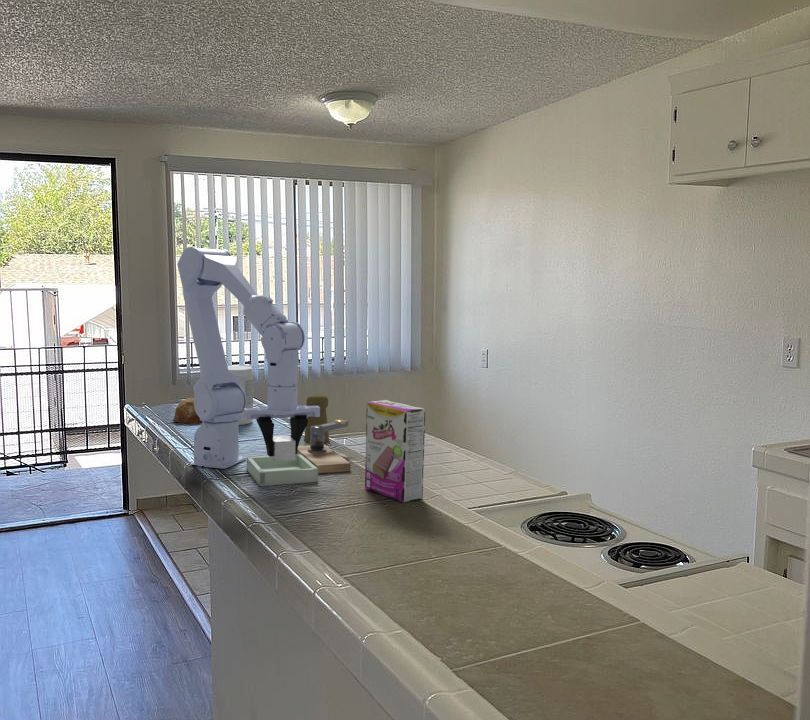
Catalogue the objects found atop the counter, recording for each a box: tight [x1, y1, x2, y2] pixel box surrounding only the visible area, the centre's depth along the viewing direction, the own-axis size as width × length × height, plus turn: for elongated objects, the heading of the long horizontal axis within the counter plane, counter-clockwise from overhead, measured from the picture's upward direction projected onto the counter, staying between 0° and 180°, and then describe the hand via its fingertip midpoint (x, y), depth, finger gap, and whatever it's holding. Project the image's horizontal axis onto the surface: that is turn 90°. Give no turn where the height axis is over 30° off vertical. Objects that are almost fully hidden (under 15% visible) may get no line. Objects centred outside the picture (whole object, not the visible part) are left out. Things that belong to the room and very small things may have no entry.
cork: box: [303, 393, 330, 443], centre depth 180 cm, size 6×6×11 cm
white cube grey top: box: [271, 435, 296, 462], centre depth 147 cm, size 5×4×4 cm
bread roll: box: [172, 397, 203, 425], centre depth 201 cm, size 10×10×8 cm
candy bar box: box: [364, 399, 426, 504], centre depth 136 cm, size 11×5×16 cm, turn 41°
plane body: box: [297, 444, 352, 474], centre depth 159 cm, size 18×7×2 cm, turn 23°
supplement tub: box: [215, 365, 254, 426], centre depth 199 cm, size 10×10×15 cm
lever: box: [309, 419, 349, 450], centre depth 165 cm, size 12×3×5 cm, turn 149°
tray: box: [246, 454, 319, 487], centre depth 147 cm, size 13×11×2 cm
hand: (281, 454), depth 147 cm, fingers closed on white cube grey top, 4 cm apart
